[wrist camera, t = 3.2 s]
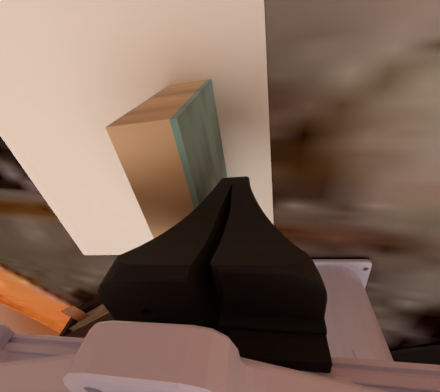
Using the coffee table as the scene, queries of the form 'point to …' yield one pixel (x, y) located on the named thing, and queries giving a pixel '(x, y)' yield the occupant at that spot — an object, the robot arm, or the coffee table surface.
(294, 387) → the robot arm
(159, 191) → the tile
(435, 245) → the coffee table surface
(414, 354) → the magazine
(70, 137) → the mat
